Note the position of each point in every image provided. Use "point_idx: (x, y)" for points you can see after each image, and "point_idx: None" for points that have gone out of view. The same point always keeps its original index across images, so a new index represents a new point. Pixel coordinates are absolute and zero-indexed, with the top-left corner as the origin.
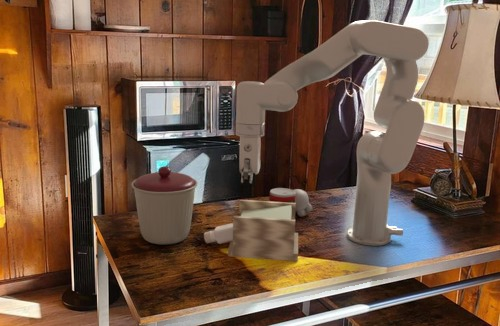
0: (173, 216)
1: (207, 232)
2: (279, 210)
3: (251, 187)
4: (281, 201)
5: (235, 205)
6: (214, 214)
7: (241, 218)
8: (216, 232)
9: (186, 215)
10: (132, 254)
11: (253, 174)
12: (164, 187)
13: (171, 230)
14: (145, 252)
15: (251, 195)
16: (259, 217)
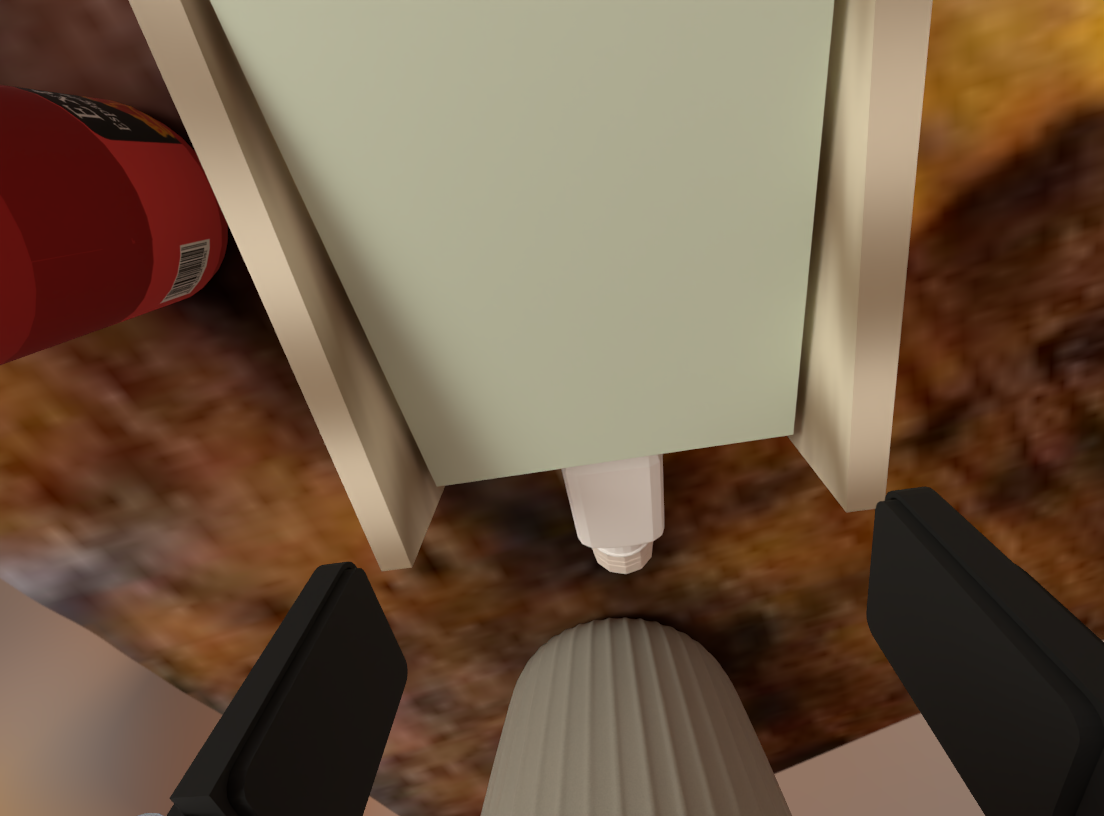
0: (765, 784)
1: (629, 563)
2: (427, 118)
3: (1071, 639)
4: (20, 212)
5: (52, 546)
6: (247, 595)
7: (886, 437)
8: (663, 525)
9: (686, 736)
10: (810, 712)
11: (264, 801)
12: None
13: (736, 706)
14: (783, 686)
15: (947, 515)
16: (635, 304)
